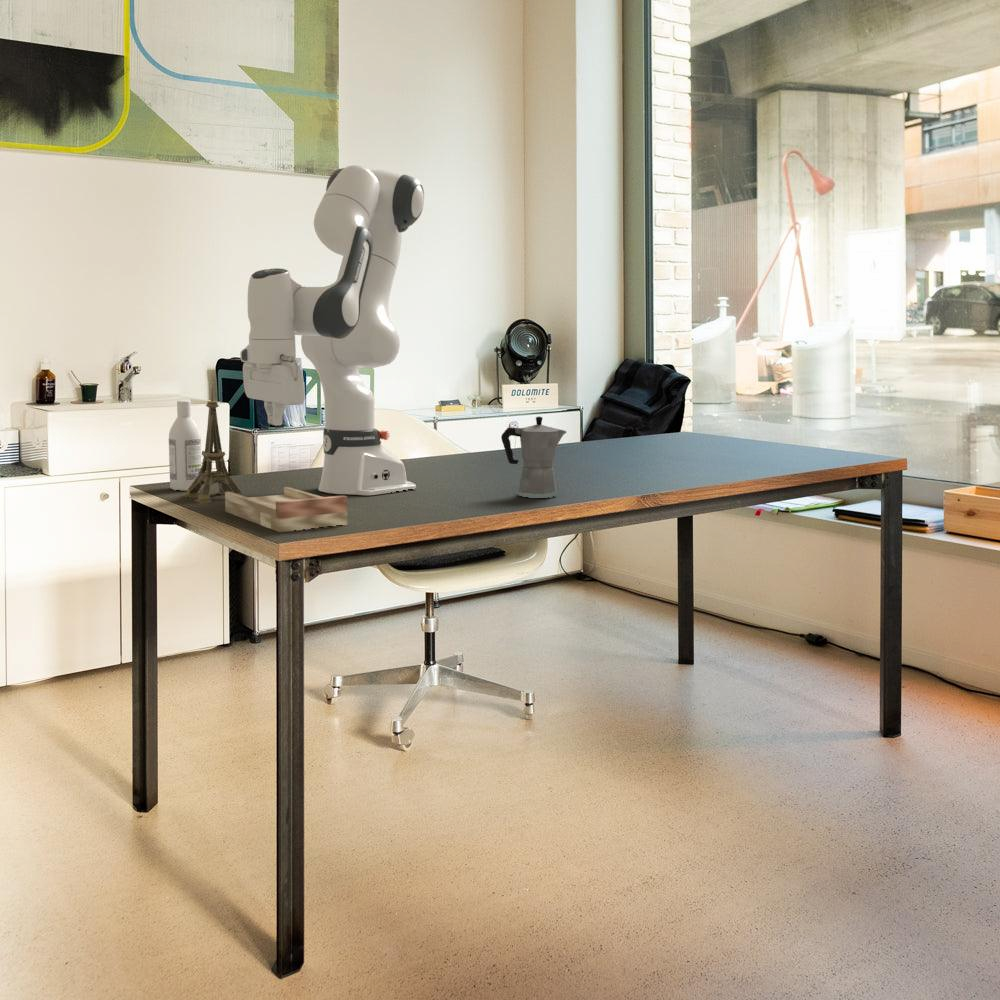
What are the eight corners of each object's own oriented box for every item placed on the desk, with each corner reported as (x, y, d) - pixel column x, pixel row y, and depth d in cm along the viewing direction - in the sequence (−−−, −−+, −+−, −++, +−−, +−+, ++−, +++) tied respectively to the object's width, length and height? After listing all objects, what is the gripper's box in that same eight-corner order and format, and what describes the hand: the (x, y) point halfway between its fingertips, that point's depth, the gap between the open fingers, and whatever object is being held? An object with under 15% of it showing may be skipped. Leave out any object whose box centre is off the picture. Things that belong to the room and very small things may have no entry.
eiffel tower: (198, 503, 229) (195, 384, 225) (182, 496, 237) (179, 381, 233) (246, 499, 235) (244, 383, 231) (229, 492, 243) (226, 380, 239)
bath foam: (206, 487, 250) (203, 400, 247) (196, 491, 243) (194, 402, 240) (176, 486, 250) (173, 399, 247) (165, 491, 243) (163, 401, 240)
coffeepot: (556, 491, 253) (558, 414, 251) (572, 498, 245) (574, 418, 242) (493, 493, 249) (495, 415, 246) (507, 500, 240) (508, 418, 237)
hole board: (289, 505, 227) (288, 479, 226) (347, 525, 207) (347, 496, 206) (225, 511, 219) (224, 484, 218) (279, 532, 199) (279, 502, 198)
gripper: (311, 355, 205) (314, 428, 208) (265, 351, 221) (268, 418, 224) (281, 357, 201) (283, 431, 204) (236, 352, 217) (239, 420, 220)
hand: (275, 424), depth 214 cm, fingers closed
